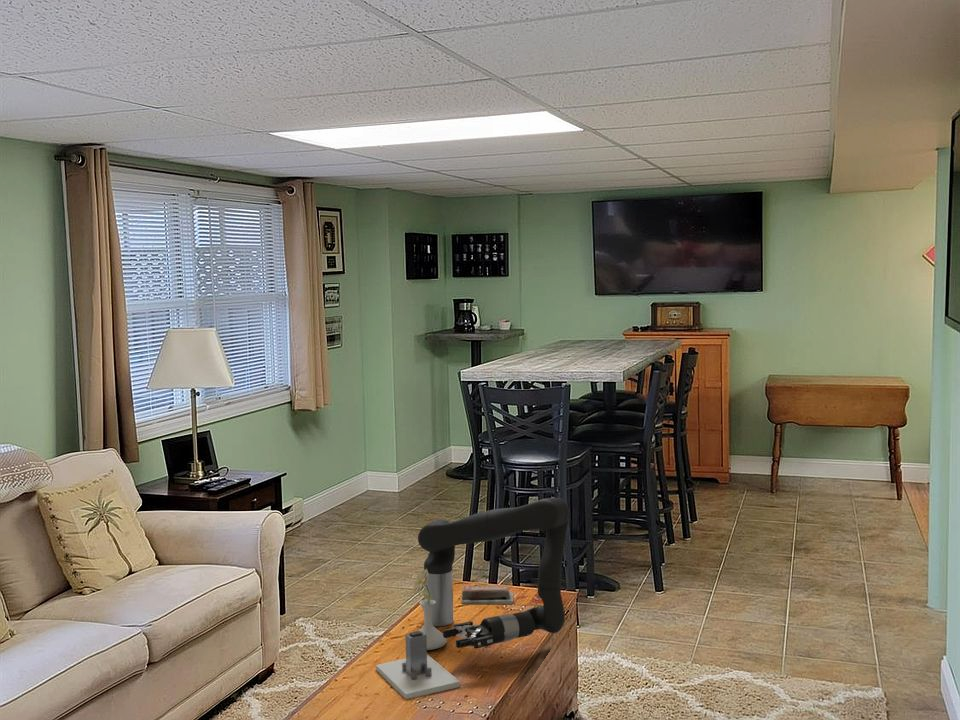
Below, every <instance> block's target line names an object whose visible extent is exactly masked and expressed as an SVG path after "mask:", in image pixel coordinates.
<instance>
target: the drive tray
mask: <svg viewBox="0 0 960 720" xmlns="http://www.w3.org/2000/svg"><path fill="white" fill-rule="evenodd" d="M375 670H377V671H378V672H379V673H378V672H377V671H376V672H377V673H378V674H379V675H380V676H381V677H383V678H384V679H385V681H386V682H388V683H389V685H391V686H392V687H393V688H394V690H396V692H398V693H399V694H400V695H401V696H402V698H404V699H405V700H410V699H414V698H417V697H418V698H419V697H423V696H426V695H430V694H431V695H432V694H435V693H438V692H443V691H447V690H448V691H449V690H453V689H456V688H460V687H461V682H460V680H459V679H458V678H456V677H455V676H454V675H453V674H451V673H450V672H449V671H448V670H446V668H445V667H443V666H442V665H441V664H439V663H438V662H437V661H436V660H435V659H433V658H432V657H431V656H430V655H429V654H427V668H426V674H421V675H417V671H411V676H409V675H408V674H407V673H406V658H402V659H397V660H392V661H388V662H384V663H379V664H375ZM422 695H423V696H422ZM413 697H414V698H413ZM409 698H410V699H409Z"/></svg>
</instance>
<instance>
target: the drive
mask: <svg viewBox="0 0 960 720" xmlns="http://www.w3.org/2000/svg"><path fill="white" fill-rule="evenodd" d="M404 638H405V659H406V673H407V674H408V675H409V676H411V671H417V675H421V674H426V668H427V655H428V650H427V635H426V634H425V633H423V632H422V631H419V630H417V631H412V632H411V631H410V632H409V633H407V634H405V637H404Z"/></svg>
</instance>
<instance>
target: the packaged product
mask: <svg viewBox="0 0 960 720" xmlns="http://www.w3.org/2000/svg"><path fill="white" fill-rule="evenodd" d="M514 595H515V594H514V592H510V588H509V586H499V585H498V586H497V585H496V586H495V585H494V586H493V585H488V586H487V585H464V586H463V588H462V591H461V601H460V603H461V605H513V604H514Z"/></svg>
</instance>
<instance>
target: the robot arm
mask: <svg viewBox="0 0 960 720" xmlns="http://www.w3.org/2000/svg"><path fill="white" fill-rule="evenodd" d="M569 519H570V508H569V506H568V504H567V502H566V501H565V500H564V499H562V498H561V497H546V498H542V499H539V500H536V501H534V502H530V503H527V504H524V505H521V506H517V507H503V508H502V507H501V508H493V509H490V510H486V511H480V512H477V513H474V514H471V515H468V516H465V517H463V518H461V519H458V520H456V521H452V522H449V521H448V520H446V519H444V518H443V519H436V520H435V521H432V522H429V523H427V524H425V525H424V526H423V527H422V528H421V529H420V530H419V532H418V534H417V542H418V544H419V546H420V547H421V549H423V550H424V551H427V552H429V553H428V556H427V557H426V559H425V560H424V563H423V569H424V570H426V569H427V570H428V580H427V583H426V585H427V587H428V589H429V592H430V595H431V597H430V600H434V601H436V603H435V604H434V606H433V609H432V625H433V626H434V627H445V626H449V625H451V624H453V623H454V592H453V591H454V590H453V589H454V582H453V576H454V575H453V564H454V561H455V555H456V554H455V553H456V546H460V545H466V544H467V545H470V544H477V543H485V542H491V541H495V540H500V539H505V538H507V537H510V536H512V535H515V534H517V533H520V532H523V531H535V530H545V543H544V548H543V551H542V555H541V559H540V562H539V566H538V572H537V596H538V597H539V598H540V599H541V600H542V604H543V605H538V606H533V607H531V608H529V609H527V610H524V611H521V612H515V613H510V614H501V615H495V616H491V617H485V618H483V619H482V621H481V622H480V623H479V624H474V622H473V621H466V622H460V623H454V624H453V627H452V628H448V629H447V628H446V629H444V630H443V631H442V633H443V637H444V638H447V639H448V638H454V637H461V638H459V639H456V640H455V648H457V649H462V648H466V647H470V648H472V647H473V648H474V649H475V650H477V649H480V648H484V647H488V646H493V645H496V644H500V643H504V642H511V641H512V640H515V639H520V638H524V637H528V636H531V635H532V634H533V633H534V631H536V630H537V631H539V630H542V631H546V632H548V633H550V634H556V633H559V632H560V631H561V630H562V629H563V627H564V624H565V617H566V616H565V607H564V602H563V598H562V571H563V570H562V567H563V554H564V548H565V541H566V534H567V529H568V525H569ZM424 588H425V589H426V590H427V588H426V586H424ZM424 588H423V589H424ZM427 591H428V590H427ZM426 599H427V598H426V597H425V596H424V600H426Z"/></svg>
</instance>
